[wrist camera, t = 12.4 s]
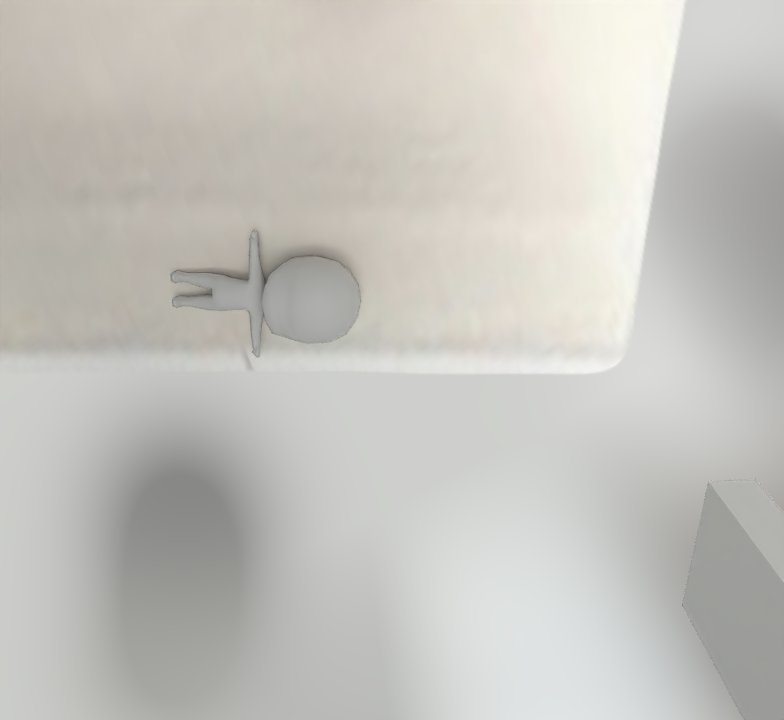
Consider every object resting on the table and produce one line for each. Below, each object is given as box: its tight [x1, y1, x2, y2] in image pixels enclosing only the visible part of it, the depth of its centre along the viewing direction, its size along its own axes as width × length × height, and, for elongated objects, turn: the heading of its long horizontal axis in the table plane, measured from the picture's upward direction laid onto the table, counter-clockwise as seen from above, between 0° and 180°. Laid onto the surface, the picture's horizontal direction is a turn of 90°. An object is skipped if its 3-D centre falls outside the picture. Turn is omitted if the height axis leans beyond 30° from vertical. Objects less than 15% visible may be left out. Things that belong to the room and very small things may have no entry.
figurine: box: [171, 230, 361, 358], centre depth 41 cm, size 8×5×12 cm
